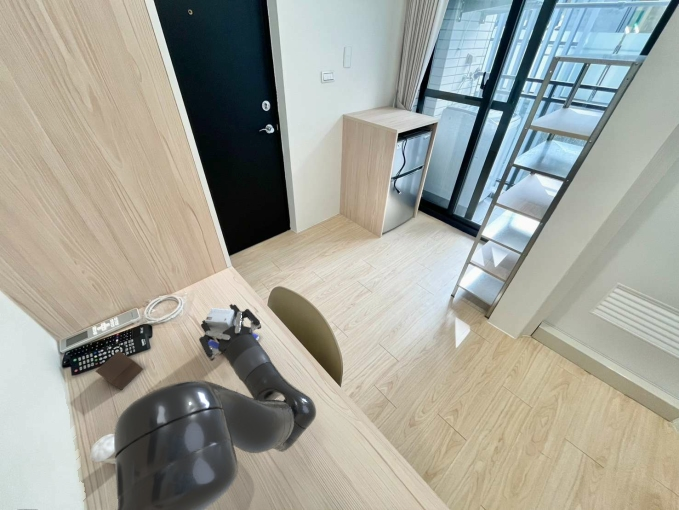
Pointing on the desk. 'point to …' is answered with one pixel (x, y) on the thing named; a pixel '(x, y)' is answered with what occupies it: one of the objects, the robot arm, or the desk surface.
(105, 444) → the milkshake
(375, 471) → the desk surface
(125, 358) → the walnut cube
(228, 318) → the cosmetic box
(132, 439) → the robot arm
